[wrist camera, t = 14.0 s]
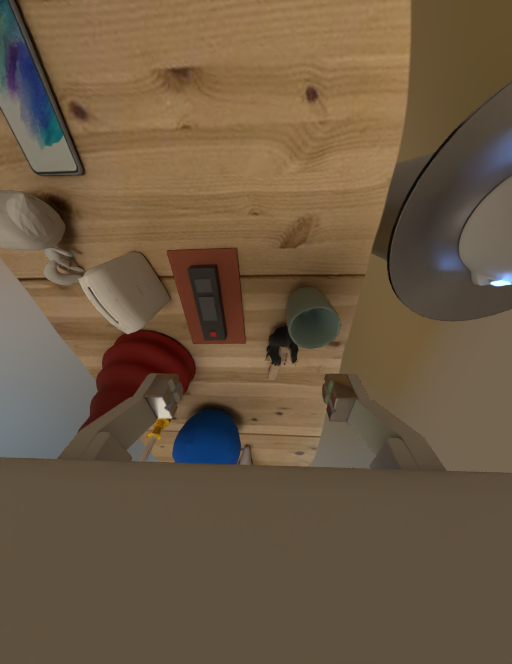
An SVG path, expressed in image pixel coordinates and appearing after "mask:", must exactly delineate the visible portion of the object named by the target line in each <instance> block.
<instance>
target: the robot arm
mask: <svg viewBox="0 0 512 664" xmlns="http://www.w3.org/2000/svg"><path fill="white" fill-rule="evenodd" d="M459 256H460V259H461V261H462V263H463V264H464V265H465V266H466V267H467V268H468V269H469V270H470V272H471V279H472V282H473V284H476V285H480V286H484V285H490V284H492V285H495V286H502V285H508V284H509V285H512V176H510V177H509V178H508V179H506V180H505V181H503V182H502V183H501V184H500V185H498V186H497V187H496V188H495V189H494V190H493V191H492V192H490V193H489V194H488V195H487V196H486V197H485V198H484V200H483V201H482V202H481V203H480V204H479V205H478V207H477V208H476V209H475V210H474V212H473V213H472V215H471V216H470V218H469V219H468V221H467V223H466V225H465V227H464V229H463V231H462V234H461V237H460V241H459ZM179 379H180V378H179V375H178V374H167V373H150V374H149V375H147V377H146V378H145V380H144V381H143V383H142V384H141V386H140V387H139V388H138V390H137V391H136V393H135V394H134V396H133V397H130V398H128V399H127V400H125V401H124V402H122V403H120V404H119V405H117V406H116V407H114V408H113V409H111V410H110V411H108V412H107V413H105V414H104V415H102V416H101V417H99V418H98V419H96V420H95V421H93V422H92V423H90V424H89V425H87V426H86V427H84V428H83V429H81V430H80V431H79V432H78V434H77V435H76V436H75V437H74V439H73V440H72V441H71V442H70V444H69V445H68V446H67V447H66V448H65V450H64V451H63V452H62V453H61V455H60V456H59V457H58V458H57V459H36V458H34V459H33V458H2V457H0V664H512V473H498V472H465V471H464V472H463V471H446V469H445V468H444V466H443V465H442V463H441V462H440V460H439V459H438V457H437V456H436V454H435V453H434V452H433V450H432V448H431V447H430V445H429V444H428V443H427V441H426V440H425V438H424V437H423V436H421V435H420V434H419V433H417V432H416V431H415V430H413V429H412V428H411V427H409V426H408V425H406V424H405V423H404V422H402V421H401V420H400V419H398V418H397V417H396V416H394V415H393V414H392V413H390V412H389V411H388V410H386V409H385V408H384V407H382V406H381V405H380V404H378V403H377V402H375V401H374V400H370V398H369V396H368V394H367V393H366V391H365V389H364V387H363V385H362V384H361V381H360V380H359V378H358V376H357V375H356V374H326V375H325V378H324V379H325V383H324V384H323V387H322V395H323V400H324V402H325V403H326V404H327V409H326V410H327V414H328V417H329V420H330V421H338V422H347V424H348V425H349V426H350V427H351V428H352V429H353V430H354V431H355V432H356V434H357V435H359V437H360V438H361V439H362V440H363V441H364V442H365V443H366V445H367V446H368V447H369V448H370V449H371V450H372V451H373V452H374V453H375V454H376V457H375V458H374V460H373V461H372V463H371V464H370V468H371V469H365V468H332V467H301V466H268V465H235V464H203V463H169V462H135V461H131V460H132V457H131V455H130V454H129V453H128V452H127V451H126V450H127V449H128V448H129V447H130V446H131V445H132V444H133V443H134V442H135V441H136V440H137V439H138V438H139V437H140V436H141V435H142V434H143V433H144V432H145V431H146V430H147V429H148V428H150V427H151V426H152V425H153V424H154V423H155V422H156V421H157V419H173V417H174V415H175V412H176V410H177V408H178V407H177V403H178V402H179V401H181V398H182V396H183V385H182V383H180V382H179Z"/></svg>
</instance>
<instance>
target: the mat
mask: <svg viewBox="0 0 512 664" xmlns="http://www.w3.org/2000/svg"><path fill="white" fill-rule="evenodd" d="M167 254H168V257H169V261H170V264H171V268H172V271H173V275H174V278H175V282H176V285H177V289H178V292H179V296H180V299H181V303H182V306H183V310H184V313H185V317H186V320H187V324H188V327H189V331H190V334H191V338H192V341H193V344H245V343H246V341H245V330H244V319H243V308H242V297H241V286H240V275H239V264H238V253H237V248H217V249H190V250H168V251H167ZM209 264H217V268H218V275H219V282H220V288H221V295H222V301H223V308H224V315H225V321H226V328H227V338H226V340H212V341H205V340H204V337H203V333H202V329H201V324H200V320H199V316H198V312H197V308H196V304H195V299H194V295H193V291H192V287H191V283H190V278H189V274H188V270H187V268H188V267H190V266H191V265H209Z"/></svg>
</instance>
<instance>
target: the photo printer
mask: <svg viewBox="0 0 512 664" xmlns="http://www.w3.org/2000/svg"><path fill="white" fill-rule="evenodd" d="M78 280H79V283H80V285H81V287H82V289H83V291H84V292H85V294H86V296H87V297H88V299H89V300H90V301H91V303H92V304H93V305H94V306H95V308H96V309H97V310H98V311H99V312H100V313H101V314H102V315H103V316H104V317H105V318H106V319H107V320H108V321H109V322H110V323H111V324H112V325H114V326H115V327H116V328H118V329H119V330H121V331H123V332H124V333H126V334H130V333H133V332H136V331H138V330H140V329H141V328H143V327H144V326H145V325H146V324H147V323H148V322H149V321H150V320H151V319H152V318H153V317H154V316H155V315H156V314H157V313H158V312H159V311H160V309H161V308H162V307H163V306H164V305H165V304H166V303H167V302H168V301H169V300H170V297H169V295H168V293H167V291H166V289H165V288H164V286H163V284H162V283H161V281H160V280H159V278H158V277H157V275H156V273H155V272H154V270H153V269H152V268H151V266H150V265H149V263H148V262H147V260H146V259H145V258H144V256H143V255H142V254H141V253H138V252H130V253H128V254H125V255H123V256H120V257H118V258H115V259H113V260H110V261H108V262H105V263H103V264H101V265H98V266H96V267H93V268H91V269H89V270H88V271H86V273H85V274H84V276H83V277H81V278H79V279H78Z"/></svg>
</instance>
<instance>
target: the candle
mask: <svg viewBox="0 0 512 664" xmlns="http://www.w3.org/2000/svg"><path fill="white" fill-rule="evenodd" d="M155 423H156V424H155V425H154V430H153V432H152V433H149V434H148V437H149V438H150V440H149V442H148V444H147V446H146V449H145V451H144V453H143V455H142V457H141V459H140V461H139V462H146V460H147V458H148V456H149V454H150V452H151V450H152V447H153V445H154V443H155V441H156V440H159V439H161V436H160V435H159V434H160V432H161V430H163V429H164V426H167V425H169V424H170V420H169V419H157V421H156V422H155Z"/></svg>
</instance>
